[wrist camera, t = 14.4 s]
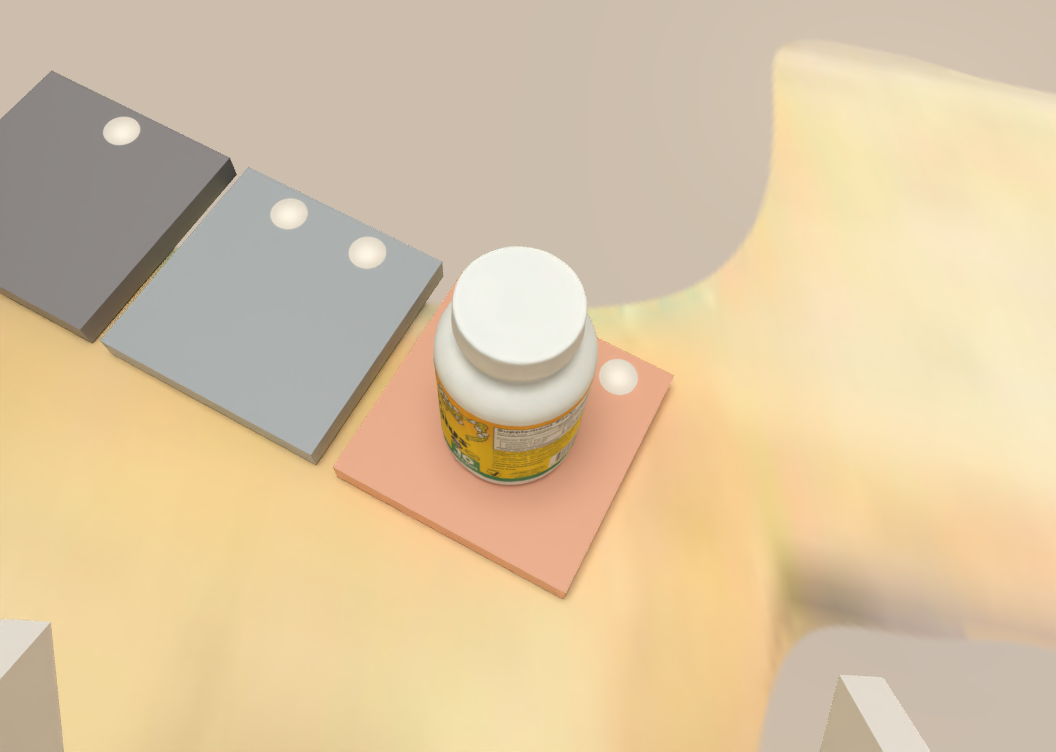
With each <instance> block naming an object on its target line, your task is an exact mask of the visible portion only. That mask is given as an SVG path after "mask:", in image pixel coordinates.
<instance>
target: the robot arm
mask: <svg viewBox="0 0 1056 752" xmlns="http://www.w3.org/2000/svg"><path fill="white" fill-rule="evenodd" d="M0 752H64V748H63V738H62V728H61V719H60V709H59V699H58V689H57V680H56V670H55V660H54V650H53V640H52V631H51V622H43V621H28V620H13V619H2V620H1V621H0ZM820 752H930V750H929V748H928V747H927V745H926V744H925V742H924V741H923V739H922V738H921V736H920V734H919V733H918V731H917V730H916V728H915V727H914V725H913V723H912V722H911V720H910V719H909V717H908V716H907V714H906V712H905V711H904V709H903V708H902V706H901V705H900V703H899V702H898V700H897V698H896V697H895V695H894V694H893V692H892V691H891V689H890V687H889V686H888V684H887V683H886V681H885V680H884V678H881V677H867V676H852V675H839V678H838V682H837V686H836V690H835V693H834V697H833V702H832V706H831V709H830V713H829V717H828V721H827V725H826V729H825V733H824V737H823V741H822V745H821V749H820Z"/></svg>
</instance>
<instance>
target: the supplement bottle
mask: <svg viewBox="0 0 1056 752" xmlns="http://www.w3.org/2000/svg"><path fill="white" fill-rule="evenodd" d="M433 361H434V366H435V374H436V382H437V391H438V399H439V410H440V418H441V427H442V432H443V435H444V439H445V441H446V444H447V446H448V448H449V450H450V451H451V453H452V454H453V456H454V457H455V458H456V459H457V460H458V461H459V462H460V463H461V464H462V465H463V466H464V467H465V468H467V469H468V470H469V471H470V472H472V473H473V474H475V475H476V476H478V477H480V478H482V479H484V480H486V481H489V482H492V483H495V484H501V485H517V484H524V483H528V482H532V481H535V480H537V479H540V478H542V477H543V476H545V475H547V474H548V473H550V472H551V471H553V470H554V469H555V468H556V467H558V466H559V465H560V464H561V462H562V461H563V460H564V459H565V458H566V456H567V455H568V453H569V451H570V450H571V448H572V445H573V443H574V440H575V438H576V435H577V432H578V429H579V426H580V423H581V419H582V415H583V412H584V408H585V405H586V402H587V399H588V395H589V392H590V389H591V385H592V382H593V379H594V375H595V371H596V366H597V361H598V343H597V336H596V332H595V329H594V326H593V324H592V321H591V319H590V317H589V315H588V314H587V298H586V294H585V291H584V288H583V285H582V283H581V281H580V280H579V278H578V277H577V275H576V274H575V272H574V271H573V270H572V269H571V268H570V267H569V266H568V265H567V264H566V263H564V262H563V261H562V260H560V259H559V258H557V257H555V256H554V255H552V254H550V253H548V252H545V251H543V250H539V249H535V248H530V247H521V246H515V247H505V248H500V249H497V250H493V251H491V252H488V253H486V254H484V255H482V256H481V257H479V258H478V259H476V260H474V261H473V262H472V263H471V264H470V265H469V266H468V267H467V268H466V269H465V270H464V271H463V273H462V274H461V276H460V277H459V279H458V281H457V283H456V286H455V289H454V293H453V298H452V301H451V302H450V304H449V305H448V306H447V308H446V309H445V311H444V312H443V314H442V316H441V318H440V320H439V323H438V325H437V328H436V333H435V337H434V355H433Z"/></svg>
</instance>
